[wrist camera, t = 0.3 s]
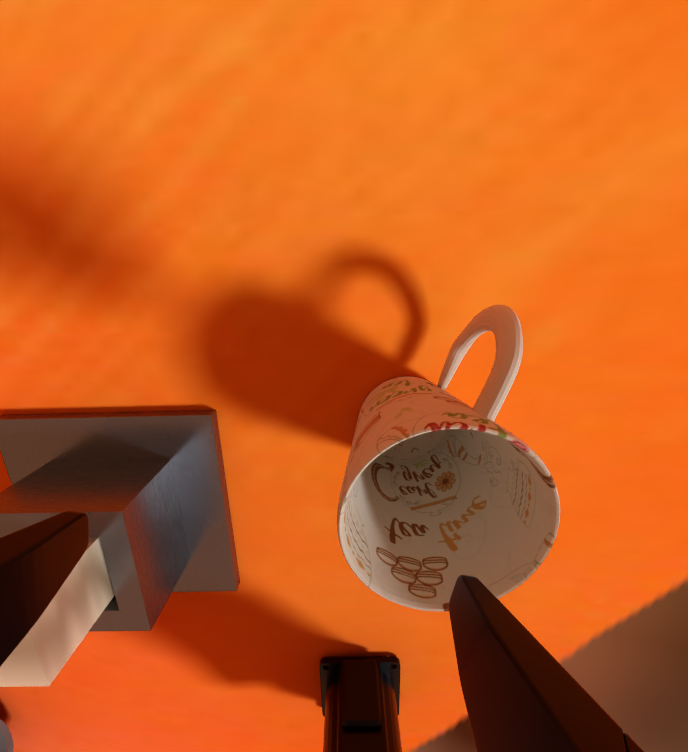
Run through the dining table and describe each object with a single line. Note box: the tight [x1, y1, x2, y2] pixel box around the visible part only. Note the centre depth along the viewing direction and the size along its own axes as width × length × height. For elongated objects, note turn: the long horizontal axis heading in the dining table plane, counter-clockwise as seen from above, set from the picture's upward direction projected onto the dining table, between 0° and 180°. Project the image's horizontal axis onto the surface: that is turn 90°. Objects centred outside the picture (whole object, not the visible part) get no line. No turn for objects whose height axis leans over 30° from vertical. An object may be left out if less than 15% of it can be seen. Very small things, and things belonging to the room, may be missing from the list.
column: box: [0, 537, 115, 687], centre depth 19 cm, size 4×4×9 cm
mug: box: [337, 305, 560, 611], centre depth 17 cm, size 8×13×10 cm, turn 160°
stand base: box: [0, 410, 240, 631], centre depth 21 cm, size 14×14×7 cm
